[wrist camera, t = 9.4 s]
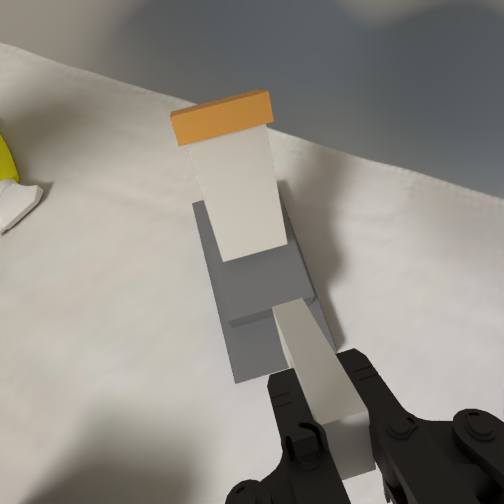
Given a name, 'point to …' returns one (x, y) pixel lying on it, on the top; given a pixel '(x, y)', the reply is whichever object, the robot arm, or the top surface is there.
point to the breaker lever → (235, 170)
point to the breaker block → (257, 298)
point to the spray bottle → (14, 191)
